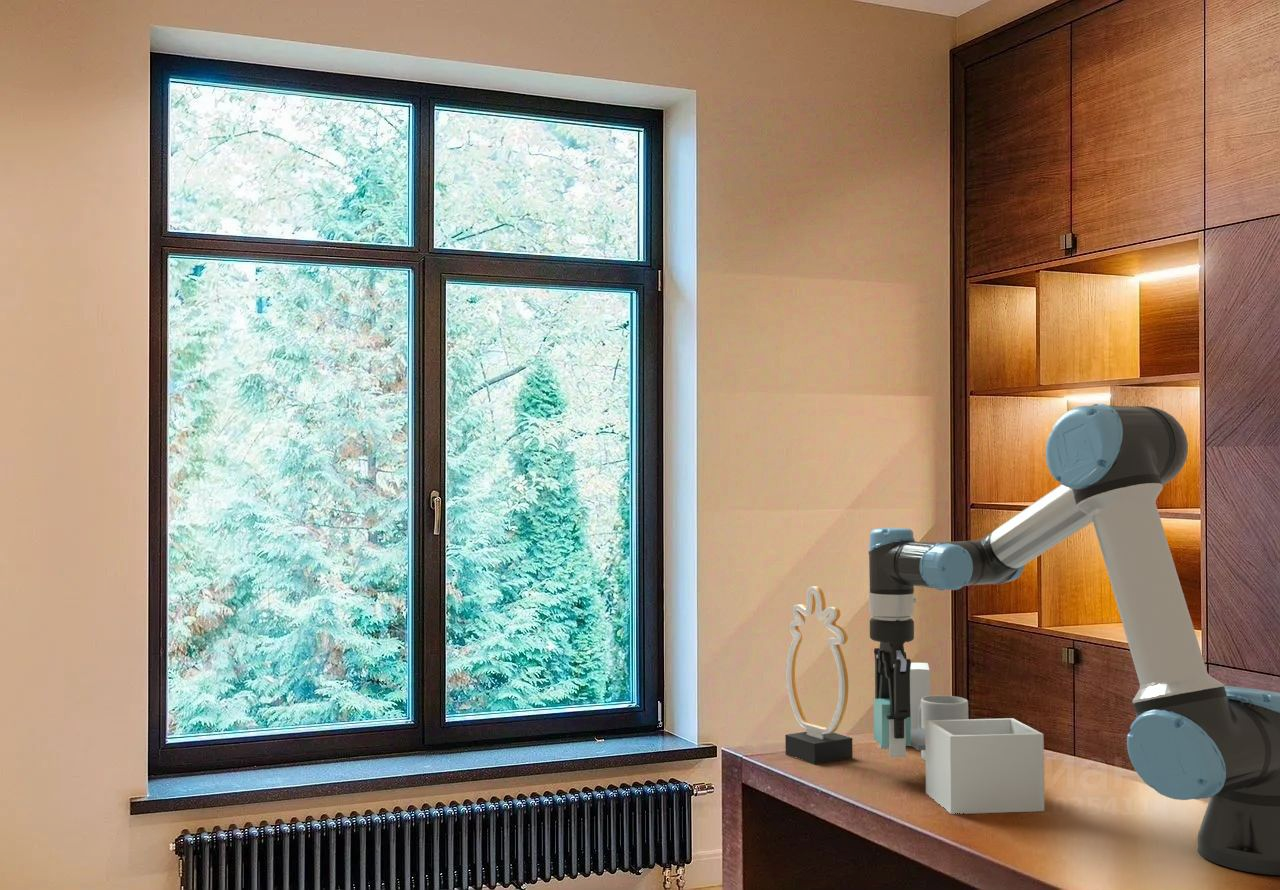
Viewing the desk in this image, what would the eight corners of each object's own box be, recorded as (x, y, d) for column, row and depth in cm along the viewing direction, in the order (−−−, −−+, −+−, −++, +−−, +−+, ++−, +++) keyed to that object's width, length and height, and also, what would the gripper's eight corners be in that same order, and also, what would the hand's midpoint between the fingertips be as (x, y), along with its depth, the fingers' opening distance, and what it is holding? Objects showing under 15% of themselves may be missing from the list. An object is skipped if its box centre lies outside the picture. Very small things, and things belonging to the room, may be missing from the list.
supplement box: (931, 748, 233) (930, 669, 233) (883, 746, 234) (883, 668, 235) (929, 737, 242) (929, 662, 242) (883, 735, 243) (883, 660, 244)
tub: (1044, 811, 190) (1043, 734, 190) (950, 814, 188) (950, 736, 189) (1013, 790, 202) (1013, 718, 202) (925, 793, 200) (925, 720, 201)
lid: (1008, 756, 205) (1007, 706, 205) (888, 759, 203) (888, 709, 203) (980, 739, 217) (980, 692, 217) (867, 742, 215) (867, 694, 215)
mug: (978, 762, 221) (978, 701, 222) (940, 766, 218) (939, 705, 218) (938, 748, 232) (937, 690, 233) (900, 752, 229) (900, 694, 229)
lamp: (867, 762, 221) (865, 588, 222) (828, 769, 217) (827, 591, 217) (809, 744, 236) (808, 581, 236) (772, 750, 231) (771, 583, 232)
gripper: (929, 624, 201) (930, 765, 201) (897, 610, 219) (897, 740, 219) (885, 624, 200) (886, 766, 200) (856, 611, 218) (857, 741, 218)
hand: (892, 752), depth 209 cm, fingers closed on lid, 5 cm apart
